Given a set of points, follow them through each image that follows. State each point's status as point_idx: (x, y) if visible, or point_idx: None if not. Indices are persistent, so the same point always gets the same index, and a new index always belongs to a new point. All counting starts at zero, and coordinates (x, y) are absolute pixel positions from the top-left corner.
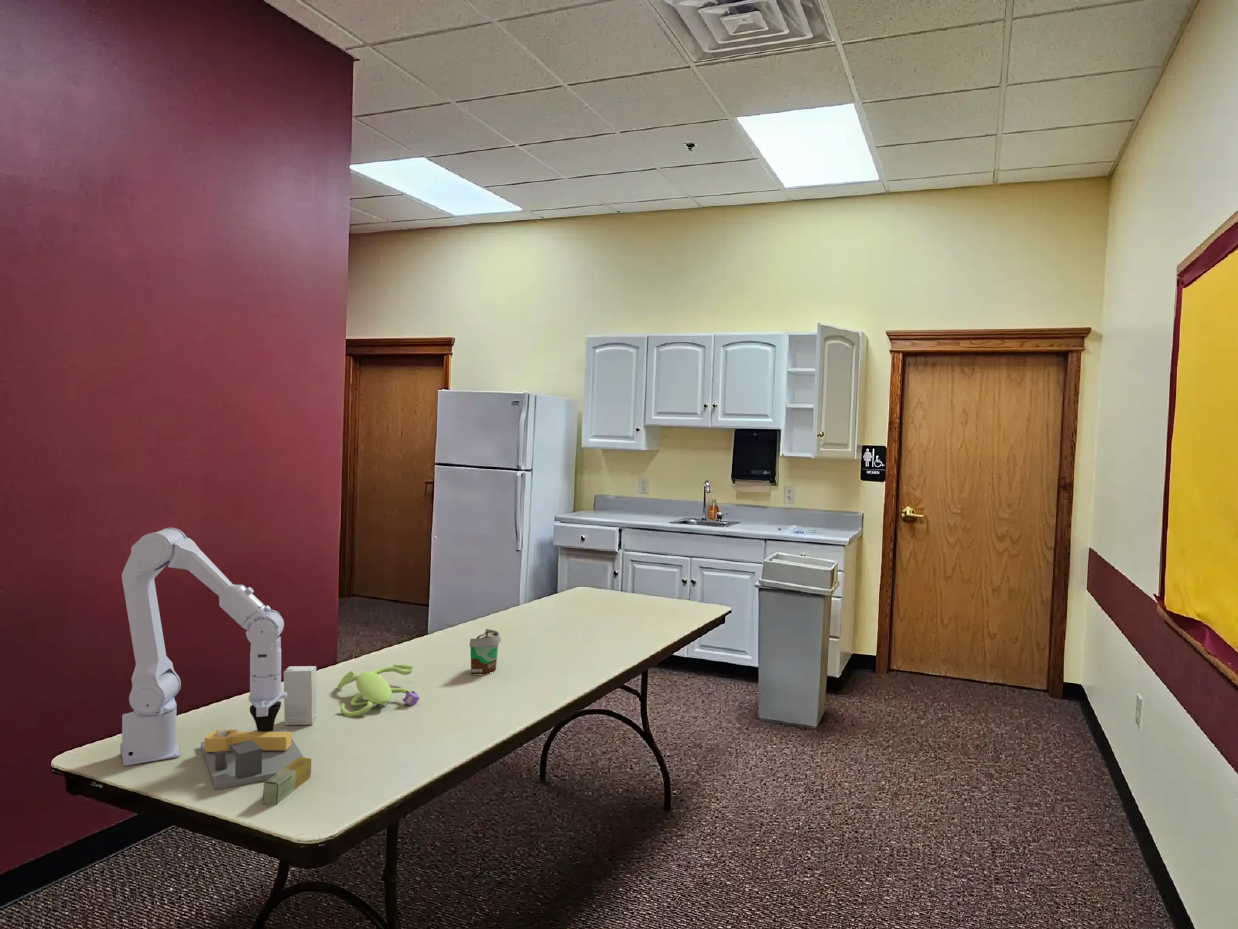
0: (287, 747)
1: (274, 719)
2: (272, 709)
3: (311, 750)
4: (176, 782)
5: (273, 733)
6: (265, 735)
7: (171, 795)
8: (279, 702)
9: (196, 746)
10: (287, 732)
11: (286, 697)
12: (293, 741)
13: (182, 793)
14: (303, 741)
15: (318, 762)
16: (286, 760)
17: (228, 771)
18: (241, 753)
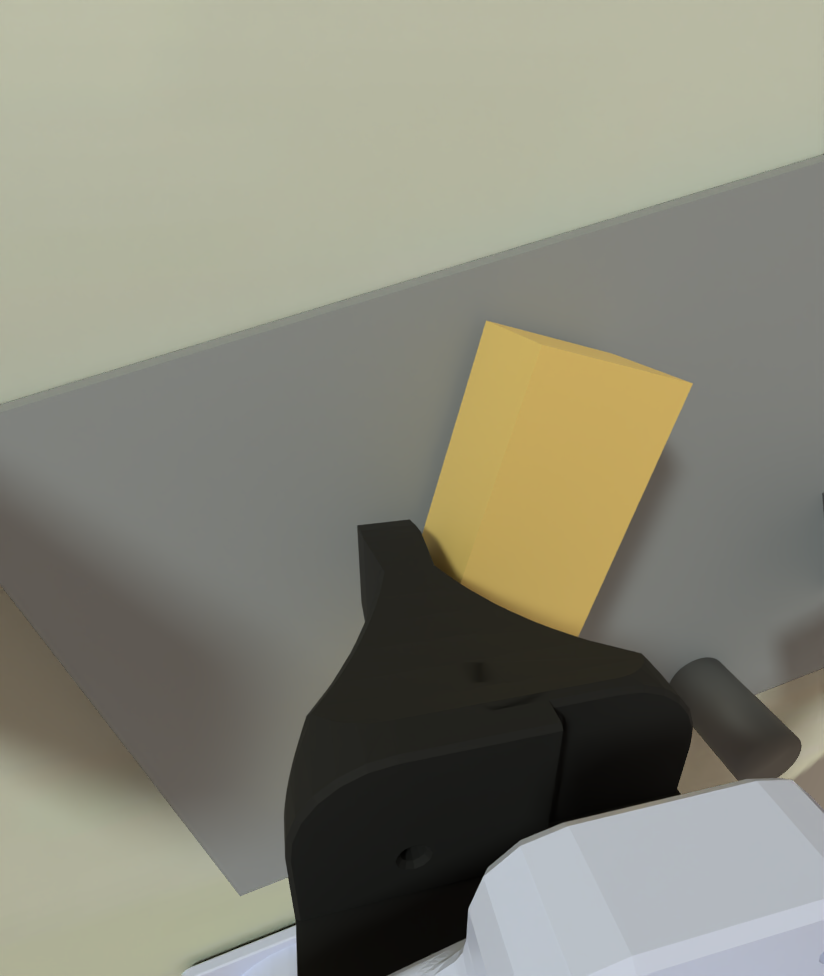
0: (587, 347)
1: (515, 617)
2: (682, 764)
3: (484, 105)
4: (682, 787)
5: (534, 528)
6: (560, 586)
7: (800, 756)
8: (414, 784)
9: (225, 883)
10: (549, 389)
11: (794, 784)
12: (345, 310)
13: (804, 730)
14: (203, 207)
15: (796, 28)
16: (771, 325)
17: (757, 637)
18: None
